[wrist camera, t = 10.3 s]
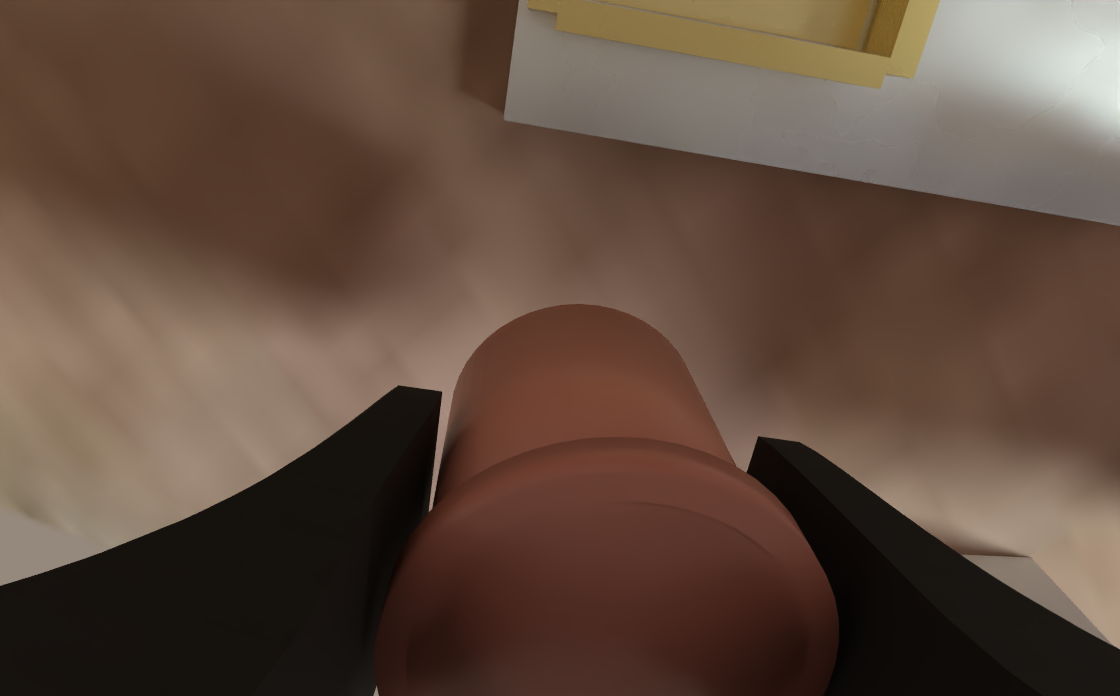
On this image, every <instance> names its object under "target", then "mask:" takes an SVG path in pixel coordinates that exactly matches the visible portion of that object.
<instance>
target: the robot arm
mask: <svg viewBox="0 0 1120 696" xmlns="http://www.w3.org/2000/svg"><path fill="white" fill-rule="evenodd" d="M441 398H442V392H441V391H434V390H427V389H420V388H413V387H406V386H399V385H398V386H397V387H396V388H394V389H393V390H391V391H390V392H388V393H387V394H386V395H384V396H383V397H382V398H380V399H379V400H378V401H377V402H375V403H374V404H373V405H372V406H370V407H369V408H368V409H366V410H365V411H364V412H363V413H361V414H360V415H359V416H357V417H356V418H355V419H353V420H352V421H351V422H349V423H348V424H347V425H345V426H344V427H343V428H341V429H340V430H338V431H337V432H336V433H334V434H333V435H331V436H330V437H329V438H327V439H326V440H324V441H323V442H322V443H320V444H319V445H317V446H316V447H315V448H313V449H312V450H310V451H309V452H307V453H305V454H304V455H302V456H301V457H299V458H297V459H296V460H294V461H293V462H291V463H289V464H288V465H286V466H285V467H283V468H281V469H280V470H278V471H277V472H275V473H274V474H272V475H270V476H269V477H267V478H265V479H263V480H262V481H260V482H258V483H256V484H254V485H253V486H251V487H249V488H247V489H245V490H243V491H241V492H239V493H238V494H236V495H234V496H232V497H230V498H227V499H225V500H223V501H221V502H219V503H217V504H215V505H213V506H211V507H209V508H207V509H205V510H203V511H201V512H199V513H197V514H195V515H192V516H190V517H188V518H186V519H184V520H181V521H179V522H176V523H174V524H171V525H169V526H166V527H164V528H161V529H159V530H156V531H154V532H151V533H149V534H146V535H144V536H141V537H139V538H137V539H134V540H132V541H129V542H127V543H124V544H122V545H119V546H117V547H114V548H112V549H109V550H107V551H104V552H102V553H99V554H96V555H93V556H91V557H88V558H85V559H82V560H80V561H76V562H73V563H70V564H67V565H64V566H61V567H58V568H55V569H53V570H50V571H47V572H44V573H41V574H38V575H34V576H31V577H28V578H25V579H21V580H18V581H15V582H12V583H8V584H5V585H2V586H0V696H373V695H374V692H375V689H376V686H377V683H376V678H375V672H374V649H375V643H376V637H377V631H378V626H379V622H380V617H381V613H382V609H383V605H384V600H385V596H386V592H387V588H388V584H389V580H390V577H391V574H392V572H393V569H394V566H395V563H396V560H397V558H398V556H399V554H400V553H401V551H402V549H403V547H404V545H405V543H406V542H407V540H408V538H409V536H410V535H411V534H412V532H413V531H414V530H415V529H416V527H417V526H418V525H419V523H420V522H421V521H422V519H423V518H424V517H425V516H426V515H427V514H428V512H429V503H430V494H431V486H432V477H433V468H434V459H435V451H436V442H437V433H438V424H439V415H440V407H441ZM747 474H749V475H750V476H752V477H754V478H755V479H757V480H758V481H759V482H760V483H761V484H762V485H764V486H765V487H766V488H767V489H768V490H769V491H770V492H772V493H773V494H774V495H775V496H776V497H777V498H778V499H779V501H780V502H781V503H782V504H783V505H784V506H785V508H786V509H787V510H788V511H789V512H790V513H791V515H792V516H793V518H794V520H795V521H796V523H797V525H798V526H799V528H800V530H801V531H802V533H803V535H804V537H805V538H806V540H807V542H808V544H809V545H810V547H811V549H812V551H813V552H814V554H815V556H816V558H817V560H818V561H819V563H820V565H821V567H822V568H823V570H824V572H825V574H826V576H827V578H828V581H829V584H830V586H831V589H832V591H833V594H834V597H835V602H836V607H837V612H838V618H839V645H838V651H837V657H836V663H835V667H834V670H833V673H832V676H831V679H830V682H829V685H828V687H827V689H826V691H825V693H824V695H823V696H1120V649H1118V648H1116V647H1114V646H1113V645H1111V644H1109V643H1107V642H1105V641H1103V640H1101V639H1100V638H1098V637H1096V636H1094V635H1092V634H1090V633H1088V632H1087V631H1085V630H1083V629H1081V628H1079V627H1078V626H1076V625H1074V624H1072V623H1071V622H1069V621H1067V620H1066V619H1064V618H1062V617H1060V616H1059V615H1057V614H1055V613H1054V612H1052V611H1050V610H1048V609H1047V608H1045V607H1043V606H1041V605H1040V604H1038V603H1036V602H1035V601H1033V600H1031V599H1029V598H1028V597H1026V596H1024V595H1023V594H1021V593H1019V592H1018V591H1016V590H1014V589H1013V588H1011V587H1010V586H1008V585H1006V584H1005V583H1003V582H1002V581H1000V580H998V579H997V578H995V577H994V576H992V575H991V574H989V573H987V572H986V571H984V570H983V569H981V568H980V567H978V566H977V565H975V564H974V563H972V562H971V561H969V560H968V559H966V558H965V557H963V556H962V555H960V554H959V553H957V552H956V551H954V550H953V549H951V548H950V547H948V546H947V545H945V544H944V543H943V542H941V541H940V540H938V539H937V538H935V537H934V536H933V535H931V534H930V533H928V532H927V531H925V530H924V529H923V528H921V527H920V526H918V525H917V524H916V523H914V522H913V521H911V520H910V519H909V518H907V517H906V516H905V515H903V514H902V513H900V512H899V511H898V510H896V509H895V508H894V507H892V506H891V505H889V504H888V503H887V502H885V501H884V500H883V499H881V498H880V497H879V496H877V495H876V494H875V493H873V492H872V491H870V490H869V489H868V488H866V487H865V486H864V485H862V484H861V483H860V482H858V481H857V480H855V479H854V478H853V477H851V476H850V475H849V474H847V473H846V472H845V471H843V470H842V469H840V468H839V467H838V466H836V465H835V464H833V463H832V462H830V461H829V460H828V459H826V458H825V457H823V456H822V455H820V454H819V453H817V452H816V451H814V450H812V449H811V448H809V447H807V446H805V445H804V444H802V443H800V442H795V441H788V440H781V439H774V438H767V437H760V436H758V439H757V442H756V445H755V448H754V451H753V455H752V458H751V461H750V464H749V467H748V470H747Z"/></svg>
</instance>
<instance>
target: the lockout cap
mask: <svg viewBox="0 0 1120 696" xmlns="http://www.w3.org/2000/svg"><path fill="white" fill-rule="evenodd" d="M838 645H839V618H838V612H837V607H836V602H835V597H834V594H833V591H832V589H831V586H830V584H829V581H828V578H827V576H826V574H825V572H824V570H823V568H822V567H821V565H820V563H819V561H818V560H817V558H816V556H815V554H814V552H813V551H812V549H811V547H810V545H809V544H808V542H807V540H806V538H805V537H804V535H803V533H802V531H801V530H800V528H799V526H798V525H797V523H796V521H795V520H794V518H793V516H792V515H791V513H790V512H789V511H788V510H787V509H786V508H785V506H784V505H783V504H782V503H781V502H780V501H779V499H778V498H777V497H776V496H775V495H774V494H773V493H772V492H770V491H769V490H768V489H767V488H766V487H765V486H764V485H762V484H761V483H760V482H759V481H758V480H757V479H755V478H754V477H752V476H750V475H749V474H747V473H746V472H744V471H743V470H741V469H739V468H738V467H736V465H735V463H734V461H733V459H732V457H731V455H730V453H729V451H728V449H727V447H726V445H725V443H724V441H723V439H722V437H721V435H720V433H719V431H718V429H717V427H716V425H715V422H714V420H713V418H712V416H711V414H710V412H709V410H708V408H707V406H706V404H705V402H704V400H703V398H702V396H701V394H700V392H699V390H698V388H697V386H696V384H695V382H694V380H693V378H692V376H691V374H690V372H689V370H688V368H687V366H686V364H685V363H684V361H683V359H682V358H681V356H680V354H679V353H678V351H677V350H676V349H675V348H674V347H673V345H672V344H671V343H670V342H669V341H668V340H667V339H666V338H665V337H664V336H663V335H662V334H661V333H659V332H658V331H657V330H656V329H654V328H653V327H651V326H650V325H648V324H647V323H645V322H644V321H642V320H640V319H638V318H636V317H634V316H632V315H630V314H627V313H624V312H621V311H618V310H616V309H612V308H607V307H602V306H597V305H584V304H573V305H560V306H554V307H548V308H544V309H540V310H537V311H534V312H530V313H528V314H526V315H523V316H521V317H519V318H517V319H514V320H513V321H511V322H509V323H508V324H506V325H504V326H503V327H501V328H499V329H498V330H497V331H496V332H494V333H493V334H492V335H491V336H489V337H488V338H487V339H486V340H485V341H484V342H483V343H482V344H481V345H480V346H479V347H478V348H477V349H476V350H475V352H474V353H473V354H472V356H471V357H470V358H469V360H468V361H467V363H466V364H465V366H464V368H463V370H462V372H461V374H460V376H459V378H458V381H457V384H456V387H455V390H454V394H453V399H452V404H451V409H450V415H449V420H448V426H447V431H446V437H445V442H444V448H443V453H442V458H441V464H440V469H439V475H438V480H437V486H436V491H435V497H434V502H433V508H432V510H431V511H430V512H429V513H428V514H427V515H426V516H425V517H424V518H423V519H422V521H421V522H420V523H419V525H418V526H417V527H416V529H415V530H414V531H413V532H412V534H411V535H410V536H409V538H408V540H407V542H406V543H405V545H404V547H403V549H402V551H401V553H400V554H399V556H398V558H397V560H396V563H395V566H394V569H393V572H392V574H391V577H390V580H389V584H388V588H387V592H386V596H385V600H384V605H383V609H382V613H381V617H380V622H379V626H378V631H377V637H376V643H375V649H374V672H375V678H376V683H377V688H378V694H379V696H823V695H824V693H825V691H826V689H827V687H828V685H829V682H830V679H831V676H832V673H833V670H834V667H835V663H836V657H837V651H838Z"/></svg>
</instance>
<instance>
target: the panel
mask: <svg viewBox="0 0 1120 696" xmlns="http://www.w3.org/2000/svg"><path fill="white" fill-rule="evenodd" d="M503 120H505V121H511V122H516V123H522V124H528V125H534V126H540V127H546V128H551V129H557V130H563V131H569V132H575V133H581V134H586V135H592V136H598V137H604V138H610V139H616V140H622V141H627V142H633V143H639V144H645V145H651V146H657V147H662V148H668V149H674V150H680V151H686V152H692V153H698V154H703V155H709V156H715V157H721V158H727V159H733V160H738V161H744V162H750V163H756V164H762V165H768V166H774V167H779V168H785V169H791V170H797V171H803V172H809V173H814V174H820V175H826V176H832V177H838V178H844V179H850V180H855V181H861V182H867V183H873V184H879V185H885V186H890V187H896V188H902V189H908V190H914V191H920V192H926V193H931V194H937V195H943V196H949V197H955V198H961V199H966V200H972V201H978V202H984V203H990V204H996V205H1001V206H1007V207H1013V208H1019V209H1025V210H1031V211H1037V212H1042V213H1048V214H1054V215H1060V216H1066V217H1072V218H1077V219H1083V220H1089V221H1095V222H1101V223H1107V224H1113V225H1118V226H1120V0H519V4H518V12H517V19H516V27H515V35H514V43H513V50H512V58H511V66H510V73H509V81H508V89H507V96H506V104H505V112H504V119H503Z"/></svg>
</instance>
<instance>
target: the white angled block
mask: <svg viewBox="0 0 1120 696" xmlns="http://www.w3.org/2000/svg"><path fill="white" fill-rule="evenodd" d="M962 556H963V557H965V558H966V559H968V560H969V561H971V562H972V563H974V564H975V565H977V566H978V567H980V568H981V569H983V570H984V571H986V572H987V573H989V574H991V575H992V576H994V577H995V578H997V579H998V580H1000V581H1002V582H1003V583H1005V584H1006V585H1008V586H1010V587H1011V588H1013V589H1014V590H1016V591H1018V592H1019V593H1021V594H1023V595H1024V596H1026V597H1028V598H1029V599H1031V600H1033V601H1035V602H1036V603H1038V604H1040V605H1041V606H1043V607H1045V608H1047V609H1048V610H1050V611H1052V612H1054V613H1055V614H1057V615H1059V616H1060V617H1062V618H1064V619H1066V620H1067V621H1069V622H1071V623H1072V624H1074V625H1076V626H1078V627H1079V628H1081V629H1083V630H1085V631H1087V632H1088V633H1090V634H1092V635H1094V636H1096V637H1098V638H1100V639H1101V640H1103V641H1105V642H1107V643H1109V644H1111V643H1110V642H1109V641H1108V640H1107V639H1106V637H1105V636H1104V635H1103V634H1102V633H1101V632H1100V631H1099V630H1098V629H1097V628H1096V627H1095V626H1094V625H1093V623H1092V622H1091V621H1090V620H1089V619H1088V618H1087V617H1086V616H1085V615H1084V614H1083V613H1082V612H1081V611H1080V610H1079V608H1078V607H1077V606H1076V605H1075V604H1074V603H1073V602H1072V601H1071V600H1070V599H1069V598H1068V597H1067V596H1066V594H1065V593H1064V592H1063V591H1062V590H1061V589H1060V588H1059V587H1058V586H1057V585H1056V584H1055V583H1054V582H1053V580H1052V579H1051V578H1050V577H1049V576H1048V575H1047V574H1046V573H1045V572H1044V571H1043V570H1042V569H1041V568H1040V567H1039V565H1038V564H1037V563H1036V562H1035V561H1034V560H1033V559H1032V558H1031V557H1007V556H984V555H962ZM1111 645H1112V644H1111Z"/></svg>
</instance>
